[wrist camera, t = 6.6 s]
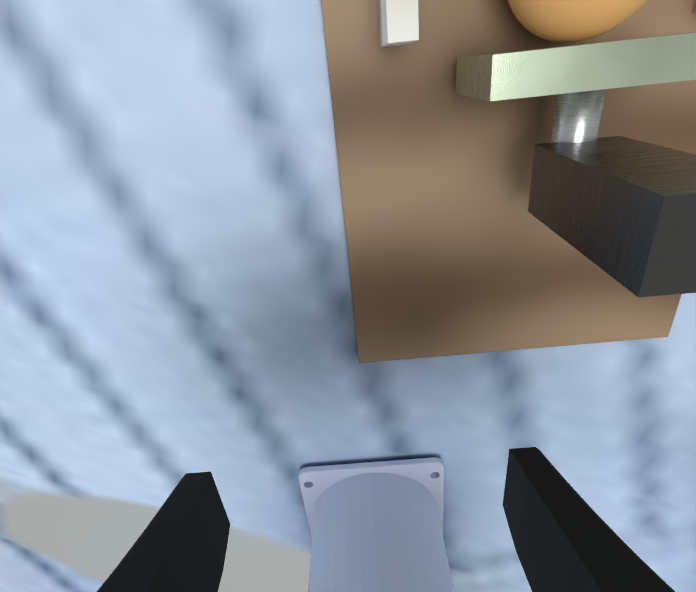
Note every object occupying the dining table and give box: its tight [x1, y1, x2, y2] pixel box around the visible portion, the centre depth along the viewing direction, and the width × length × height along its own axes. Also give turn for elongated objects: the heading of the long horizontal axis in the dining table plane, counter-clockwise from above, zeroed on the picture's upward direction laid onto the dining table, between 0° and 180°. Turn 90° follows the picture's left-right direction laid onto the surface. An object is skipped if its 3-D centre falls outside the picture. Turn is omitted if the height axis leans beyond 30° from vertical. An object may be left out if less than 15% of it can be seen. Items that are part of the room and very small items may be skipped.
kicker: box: [456, 32, 696, 298], centre depth 11 cm, size 5×6×8 cm
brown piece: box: [321, 0, 696, 363], centre depth 13 cm, size 20×14×6 cm
